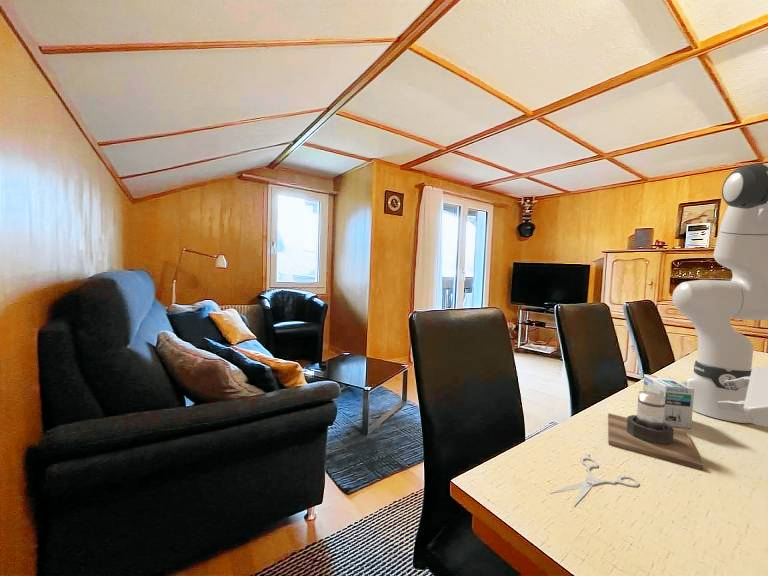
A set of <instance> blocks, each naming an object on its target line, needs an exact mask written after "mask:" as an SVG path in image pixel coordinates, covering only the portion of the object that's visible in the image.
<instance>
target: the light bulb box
mask: <svg viewBox="0 0 768 576" xmlns="http://www.w3.org/2000/svg"><path fill="white" fill-rule="evenodd" d="M642 384H643V385H642V391H649V392H654V393H658V394H661V395H663V396H665V397H666V399H665V411H664V422H665V423H667V424H668V425H670V426H672V427H673V428H674V427H675V428H676V427H677V428H685V429H692V423H693V420H692V419H693V412H694V411H693V399H694V389H693V388H691V387H688V386H686V385H684V384H682V382H680V381H678V380H675V379H673V378H671V377H670V376H663V375H652V374H643V383H642Z"/></svg>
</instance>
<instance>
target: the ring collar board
mask: <svg viewBox="0 0 768 576" xmlns="http://www.w3.org/2000/svg"><path fill="white" fill-rule="evenodd" d="M636 421H637V414H636V415H635V414H632V415H627V417H626V416H622V415H617V414H614V413H610V412H608V414H607V426H608V428H607V430H608V432H607V435H608V436H607V440H608V442H607V443H608V445H610V446H613V447H617V448H622V449H625V450H629V451H632V452H635V453H639V454H643V455H647V456H650V457H652V458H653V457H654V458H658V459H661V460H665V461H668V462H672V463H676V464H680V465H683V466H686V467H690V468H694V469H698V470H701V471H703V470H704V464H703V462H702V460H701V458H700V456H699V455H698V452H697V450H696V448H695V446H694V445H693V443H692V440H691V439H690V437H689V435H688V433H687V431H686V430H683V429H679V428H676V427H675V428H674V427H673V426H670V425H668V424H667V423H665V422H664V424H663V430H656V429H651V428H647V427H644V426H642V425H639V424H637V423H636Z"/></svg>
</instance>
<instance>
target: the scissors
mask: <svg viewBox="0 0 768 576" xmlns="http://www.w3.org/2000/svg"><path fill="white" fill-rule="evenodd" d="M584 455H585V456H583V457H581V458H579V461H580V464H582V465H583V466H585V467H586V468H585V471H586V472H587V474H588V475H587V476H586V478H585V480H584V481H582V482H578V483H575V484H572V485H571V484H570V485H568V486H565V487H563V488H559V489H556V490H553V491H552V492H551V494H554V493H561V492H566V491H571V490H578V489H580V491H579V493H578V495H577V498H576V500H575V502H574V504H573V507H575V506H576V505H577V504H578V503H579V502H580V501H581V500H582V499H583V498H584V497H585V496H586V495H587V494H588V492H589V491H590V490H591V489H592V488H593V486H597V485H601V484H610V485H615V484H620V485H622V486H626V487H631V488H636V487H638V486H639V485H640V482H639V481H638V480H637V479H636V478H634V477H632V476H627V475H617V476H616V479H615V480H607V479H606V480H605V479H601V478H594V476H593V474H592V473H591V469H592V468H593V469H594V468H595V469H597V468H598V467H599V464H598V462H597V461H596V460H595V459H593V458H591V457H590V453H589V452H585V453H584ZM585 460H587V461H591V462H593V463H594V464H588V463H586V462H585ZM623 479H629V480H632V481H633V482H635V483H634V484H633V483H628V482H625V481H623Z"/></svg>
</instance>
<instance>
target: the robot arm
mask: <svg viewBox="0 0 768 576" xmlns="http://www.w3.org/2000/svg"><path fill="white" fill-rule="evenodd" d="M721 196H722V199H723V200H724V202H725V204H726V205H728V206H727V208H726V209H725V212H724V213H723V217H722V219H721V221H720V222H721V223H720V226H719V230H718V233H717V238H716V242H715V246H714V251H713V258H714V260H715V262H716V263H717V264H718V265H720V266H722V267H723V268H726V269H729V270H731V273H732V274H731V275H732V277H731V279H730V280H720V279H718V280H717V279H698V280H696V279H695V280H688V281H683V282H680V283H679V284H678V285H677V286H676V287H675V288H674V290H673V291H672V295H671V298H672V303H673V306H674V307H675V309H676V310H677V311H679V313H681V314H682V315H684V316H685V317H686V318H687V319H688V320H689V321H690V322H691V324H692V325H693V328H694V329H695V331H696V336H697V356H696V357H697V359H696V360H695V361H694V365H693V374H692V375H691V376H690V377H689V378H688V379H687V380H681V383H682V384H684V385H686V386H688V387H691V388H693V389H694V399H693V411H692V412H696V413H698V414H702V415H704V416H708V417H711V418H715V419H718V420H722V421H727V422H731V423H732V422H734V423H739V424H740V423H742V424H754V425H756V426H761V427H768V366H757V367H755V368H752V367H753V358H754V357H753V356H754V346H755V345H754V343H753V342H752V341H751V339H749V337H747V336H746V335H744V334H742V333H740V332H738V331H736V330H734V328H733V327H732V323H731V319H734V320H748V321H749V320H750V321H766V320H768V162H767V163H766V162H765V163H759V162H758V163H757V162H756V163H752V164H746V165H743V166H740V167H737V168H735V169H734V170H733V171H732V172H730V173H729V174H728V175H727V177H726V179H724V182H723V184H722V188H721Z"/></svg>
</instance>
